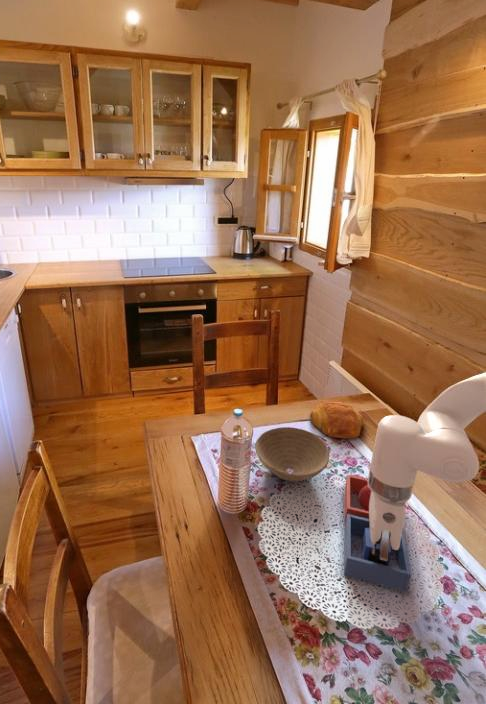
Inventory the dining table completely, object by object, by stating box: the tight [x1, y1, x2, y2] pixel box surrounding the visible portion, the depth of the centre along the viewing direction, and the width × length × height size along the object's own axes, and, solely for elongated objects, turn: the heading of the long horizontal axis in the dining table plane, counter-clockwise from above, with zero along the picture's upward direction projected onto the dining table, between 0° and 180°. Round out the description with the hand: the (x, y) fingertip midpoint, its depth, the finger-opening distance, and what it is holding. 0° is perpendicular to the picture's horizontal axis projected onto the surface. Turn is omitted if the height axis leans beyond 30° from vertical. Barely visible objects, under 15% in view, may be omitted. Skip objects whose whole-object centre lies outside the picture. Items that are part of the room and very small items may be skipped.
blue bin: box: [343, 514, 412, 593], centre depth 79 cm, size 11×11×5 cm
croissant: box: [309, 401, 364, 439], centre depth 122 cm, size 14×16×8 cm
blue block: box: [361, 528, 392, 566], centre depth 79 cm, size 4×4×4 cm
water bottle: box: [217, 408, 254, 515], centre depth 88 cm, size 7×7×25 cm
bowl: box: [254, 426, 330, 483], centre depth 102 cm, size 18×18×8 cm
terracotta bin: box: [343, 474, 369, 524], centre depth 91 cm, size 11×11×5 cm
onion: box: [358, 485, 371, 511], centre depth 90 cm, size 6×6×8 cm
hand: (374, 555), depth 80 cm, fingers closed on blue block, 4 cm apart
